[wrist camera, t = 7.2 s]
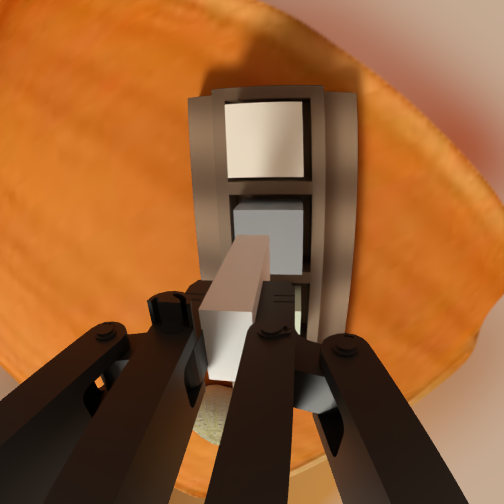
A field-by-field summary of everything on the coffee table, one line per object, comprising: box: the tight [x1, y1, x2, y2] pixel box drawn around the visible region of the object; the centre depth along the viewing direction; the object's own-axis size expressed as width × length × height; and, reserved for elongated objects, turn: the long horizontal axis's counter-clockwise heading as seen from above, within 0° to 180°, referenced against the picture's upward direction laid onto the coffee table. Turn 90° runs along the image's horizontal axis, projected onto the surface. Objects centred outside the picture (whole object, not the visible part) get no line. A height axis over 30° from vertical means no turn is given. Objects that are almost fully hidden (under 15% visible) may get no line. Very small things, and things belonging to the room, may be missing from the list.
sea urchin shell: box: [193, 385, 233, 445], centre depth 32 cm, size 9×8×8 cm
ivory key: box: [225, 102, 304, 178], centre depth 17 cm, size 4×4×4 cm
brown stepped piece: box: [188, 85, 358, 388], centre depth 24 cm, size 25×12×6 cm, turn 2°
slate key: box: [233, 198, 303, 275], centre depth 20 cm, size 4×4×4 cm
